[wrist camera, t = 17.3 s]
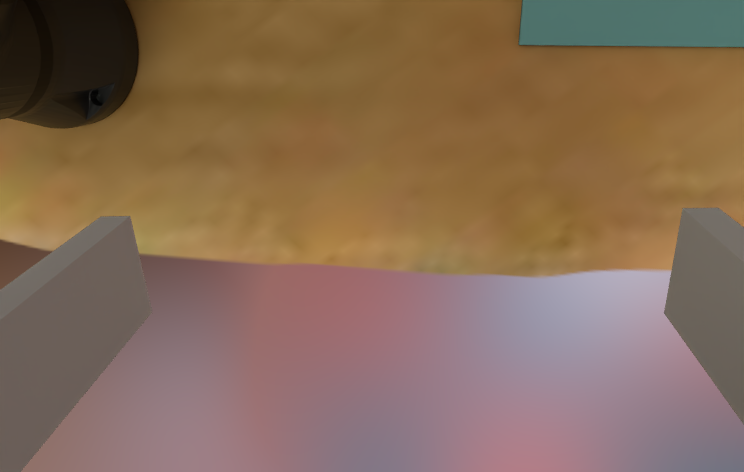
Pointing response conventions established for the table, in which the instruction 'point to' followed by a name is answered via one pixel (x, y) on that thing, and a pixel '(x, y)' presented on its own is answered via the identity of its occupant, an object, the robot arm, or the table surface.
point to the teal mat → (633, 23)
